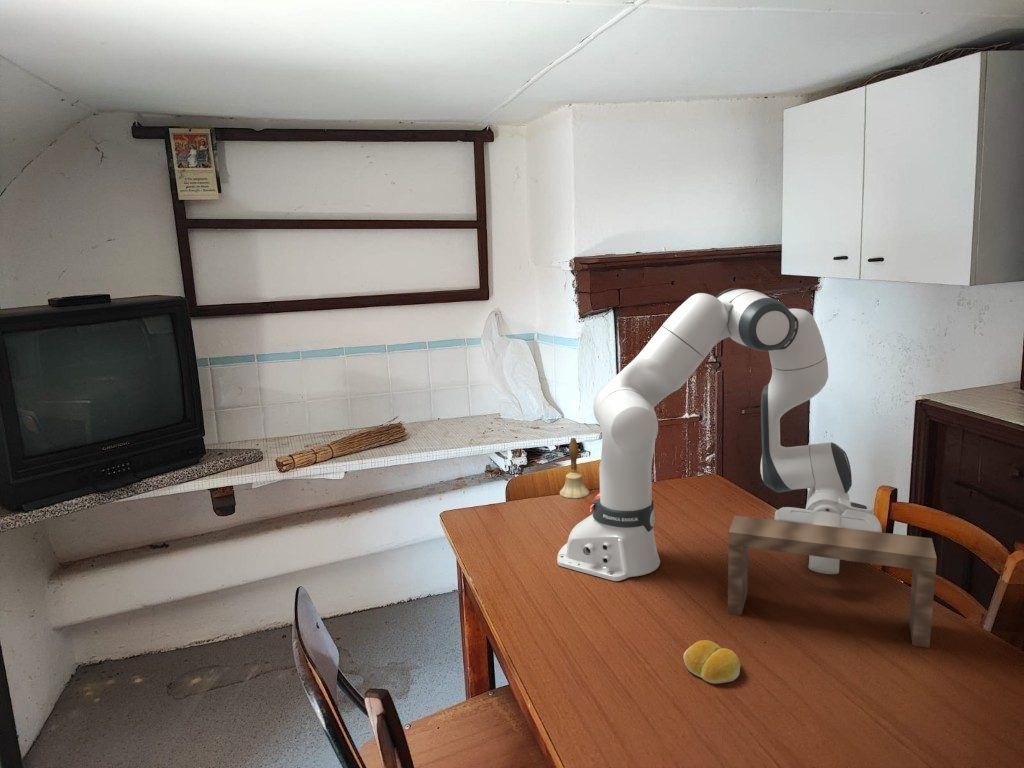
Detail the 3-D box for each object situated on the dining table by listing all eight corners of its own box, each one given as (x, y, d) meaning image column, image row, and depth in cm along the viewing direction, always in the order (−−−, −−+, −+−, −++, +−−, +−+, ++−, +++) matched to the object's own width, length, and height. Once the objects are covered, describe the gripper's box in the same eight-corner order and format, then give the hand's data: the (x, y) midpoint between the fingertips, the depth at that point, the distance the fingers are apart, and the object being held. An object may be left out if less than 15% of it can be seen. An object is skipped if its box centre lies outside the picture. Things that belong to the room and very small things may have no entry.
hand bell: (569, 486, 202) (567, 432, 199) (594, 490, 198) (593, 436, 194) (554, 495, 196) (551, 440, 192) (580, 501, 191) (578, 444, 188)
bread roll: (723, 693, 111) (723, 670, 110) (676, 668, 118) (676, 647, 117) (751, 669, 117) (751, 648, 116) (704, 647, 123) (704, 627, 122)
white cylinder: (808, 564, 136) (812, 509, 140) (808, 570, 140) (812, 517, 145) (839, 569, 134) (842, 513, 138) (838, 575, 138) (841, 521, 142)
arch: (727, 613, 133) (728, 532, 130) (733, 592, 140) (734, 515, 137) (929, 648, 119) (936, 558, 116) (924, 623, 126) (931, 538, 123)
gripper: (776, 495, 155) (770, 519, 143) (881, 508, 147) (884, 535, 134) (775, 522, 156) (769, 548, 144) (878, 536, 148) (881, 565, 136)
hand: (825, 542), depth 139 cm, fingers closed on white cylinder, 5 cm apart
